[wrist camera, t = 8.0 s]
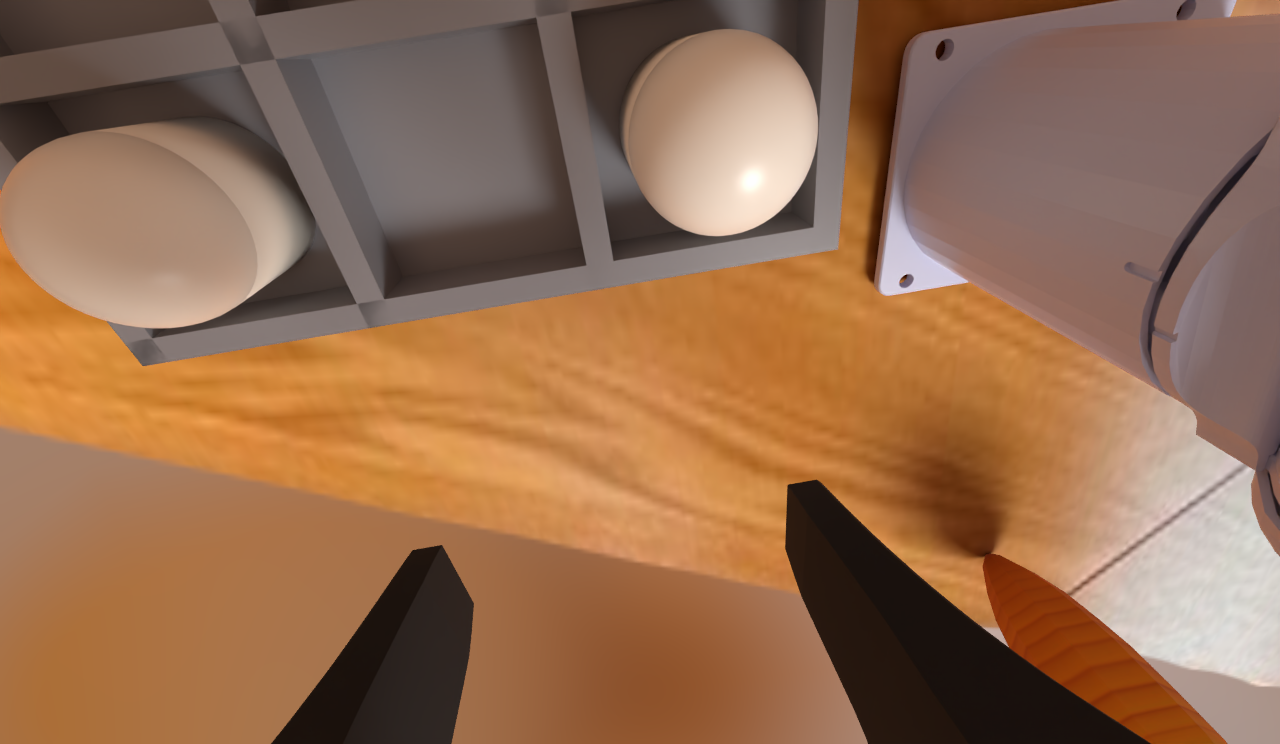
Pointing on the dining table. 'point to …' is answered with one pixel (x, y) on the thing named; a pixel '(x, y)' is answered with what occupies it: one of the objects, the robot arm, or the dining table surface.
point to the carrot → (1088, 657)
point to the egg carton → (406, 154)
